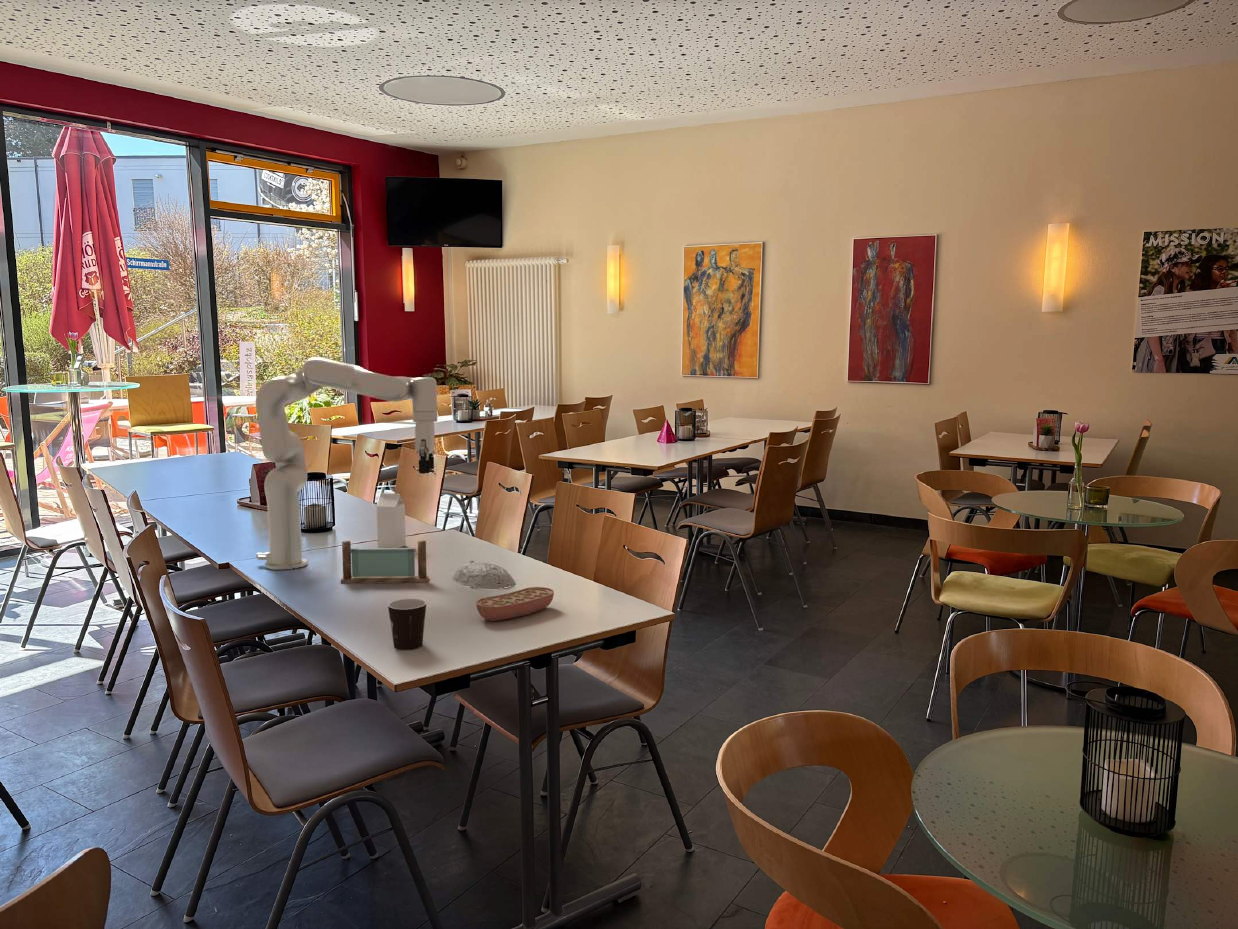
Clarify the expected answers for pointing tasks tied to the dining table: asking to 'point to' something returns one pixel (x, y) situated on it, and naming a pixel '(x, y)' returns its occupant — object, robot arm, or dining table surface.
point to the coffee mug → (407, 623)
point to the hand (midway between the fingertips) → (426, 471)
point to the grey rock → (483, 576)
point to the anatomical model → (514, 603)
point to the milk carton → (390, 521)
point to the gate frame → (349, 579)
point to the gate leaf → (383, 562)
